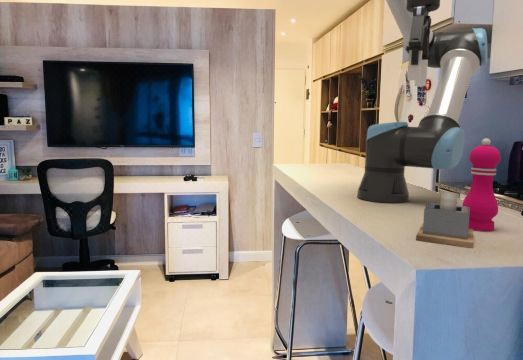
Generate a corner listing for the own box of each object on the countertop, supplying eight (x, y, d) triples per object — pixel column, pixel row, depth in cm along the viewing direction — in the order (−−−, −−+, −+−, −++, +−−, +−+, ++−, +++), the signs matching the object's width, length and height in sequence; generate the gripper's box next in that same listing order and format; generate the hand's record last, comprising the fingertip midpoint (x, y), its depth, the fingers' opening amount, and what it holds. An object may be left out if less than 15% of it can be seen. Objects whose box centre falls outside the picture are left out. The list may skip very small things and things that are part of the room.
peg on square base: (422, 227, 93) (425, 187, 92) (472, 233, 89) (476, 191, 88) (415, 240, 82) (419, 194, 81) (472, 248, 78) (477, 200, 77)
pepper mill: (501, 233, 90) (510, 139, 88) (464, 230, 92) (473, 138, 89) (490, 225, 97) (498, 138, 95) (456, 223, 99) (464, 137, 96)
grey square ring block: (426, 225, 91) (428, 202, 90) (467, 230, 87) (470, 206, 87) (422, 233, 84) (424, 208, 83) (467, 239, 80) (469, 213, 80)
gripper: (413, 7, 114) (408, 87, 116) (399, -23, 91) (392, 77, 94) (444, 4, 110) (437, 87, 113) (436, -27, 88) (428, 76, 91)
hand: (417, 83), depth 104 cm, fingers open, 13 cm apart
